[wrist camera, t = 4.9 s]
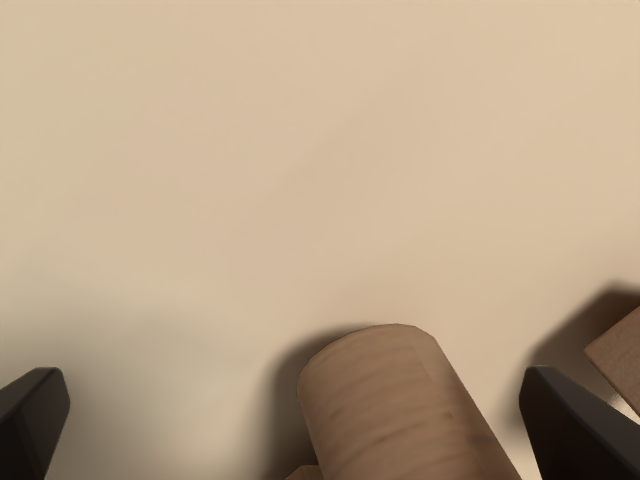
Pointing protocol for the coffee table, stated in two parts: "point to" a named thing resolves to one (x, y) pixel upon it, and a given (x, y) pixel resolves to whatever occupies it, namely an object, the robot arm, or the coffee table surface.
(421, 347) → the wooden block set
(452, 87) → the coffee table surface
